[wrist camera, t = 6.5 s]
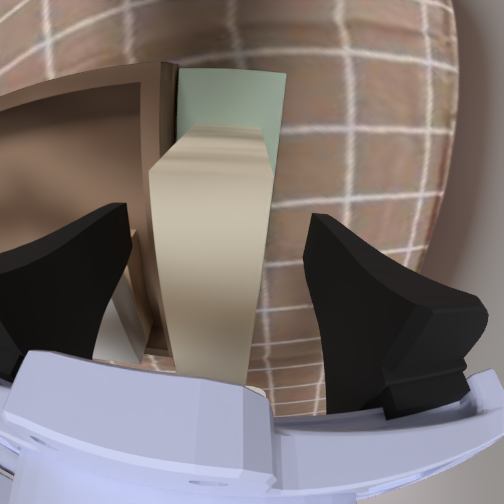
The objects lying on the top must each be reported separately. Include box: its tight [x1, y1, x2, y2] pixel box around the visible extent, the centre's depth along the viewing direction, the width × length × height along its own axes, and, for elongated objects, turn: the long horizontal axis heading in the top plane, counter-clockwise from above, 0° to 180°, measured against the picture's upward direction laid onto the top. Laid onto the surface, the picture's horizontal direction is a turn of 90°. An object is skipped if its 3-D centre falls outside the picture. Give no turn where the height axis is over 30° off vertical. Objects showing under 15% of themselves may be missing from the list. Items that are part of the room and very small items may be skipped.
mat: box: [177, 68, 286, 296], centre depth 15 cm, size 13×5×1 cm, turn 175°
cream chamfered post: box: [149, 124, 274, 386], centre depth 12 cm, size 10×3×7 cm, turn 175°
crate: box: [0, 62, 178, 357], centre depth 14 cm, size 18×17×3 cm
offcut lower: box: [124, 229, 153, 344], centre depth 16 cm, size 8×4×2 cm, turn 175°
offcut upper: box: [92, 272, 147, 365], centre depth 15 cm, size 6×4×2 cm, turn 179°
